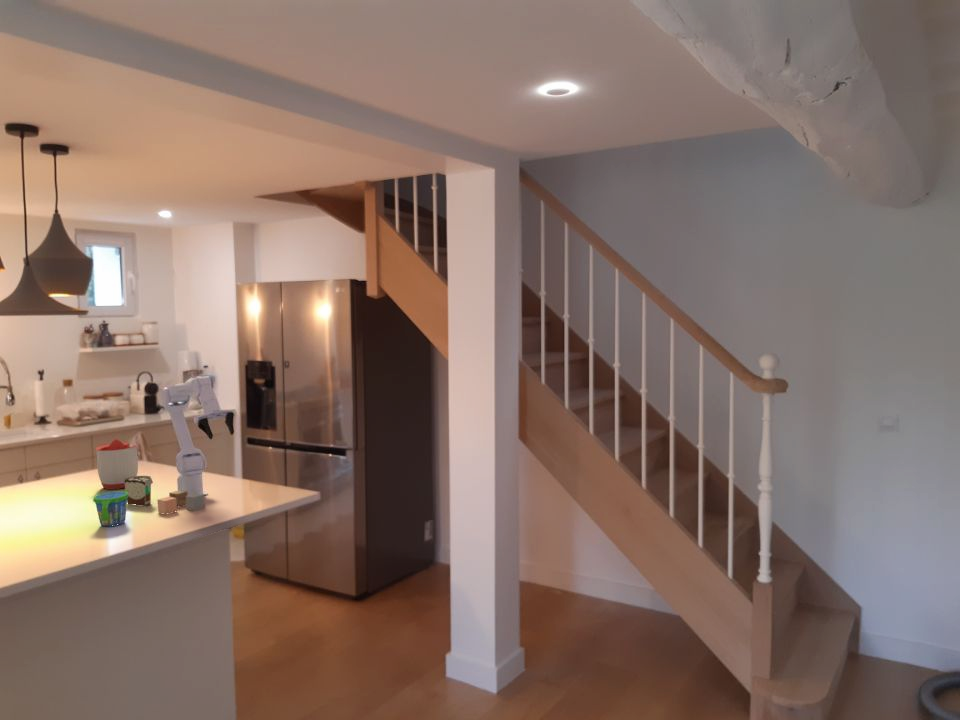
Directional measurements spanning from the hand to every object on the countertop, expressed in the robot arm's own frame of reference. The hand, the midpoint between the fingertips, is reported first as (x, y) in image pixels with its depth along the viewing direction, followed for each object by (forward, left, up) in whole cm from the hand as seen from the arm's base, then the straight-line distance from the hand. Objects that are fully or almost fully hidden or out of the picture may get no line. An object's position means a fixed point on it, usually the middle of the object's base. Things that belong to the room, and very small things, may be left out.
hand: (222, 435), depth 263 cm
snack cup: (-20, -31, -27) cm, 46 cm away
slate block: (-11, -5, -27) cm, 29 cm away
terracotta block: (-16, -13, -27) cm, 34 cm away
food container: (-36, -10, -27) cm, 46 cm away
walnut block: (-21, -5, -27) cm, 34 cm away
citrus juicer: (-71, +2, -27) cm, 76 cm away
